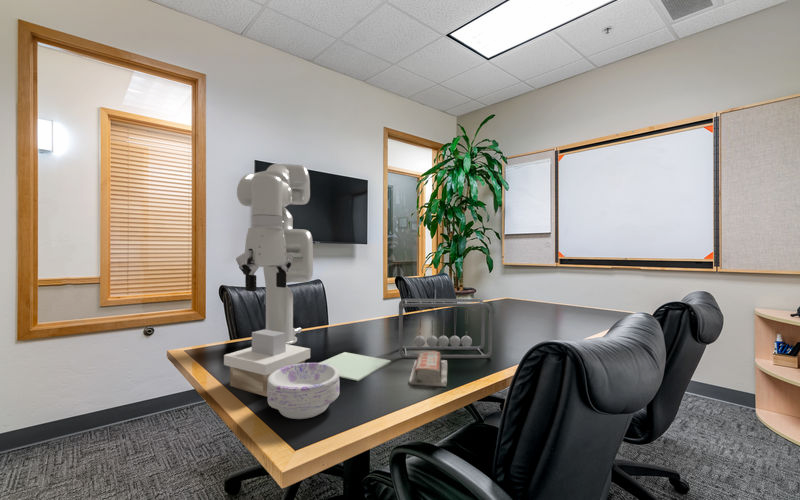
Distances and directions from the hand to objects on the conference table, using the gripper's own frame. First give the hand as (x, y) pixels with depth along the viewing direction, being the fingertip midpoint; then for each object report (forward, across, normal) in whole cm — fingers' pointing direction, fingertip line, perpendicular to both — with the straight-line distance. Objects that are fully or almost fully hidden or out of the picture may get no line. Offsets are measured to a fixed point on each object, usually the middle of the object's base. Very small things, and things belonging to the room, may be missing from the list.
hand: (266, 288), depth 92 cm
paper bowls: (+25, +6, +19) cm, 32 cm away
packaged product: (+25, -28, +34) cm, 51 cm away
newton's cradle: (+25, -47, +31) cm, 61 cm away
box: (+24, 0, 0) cm, 25 cm away
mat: (+24, -22, +11) cm, 34 cm away
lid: (+19, 0, 0) cm, 19 cm away
